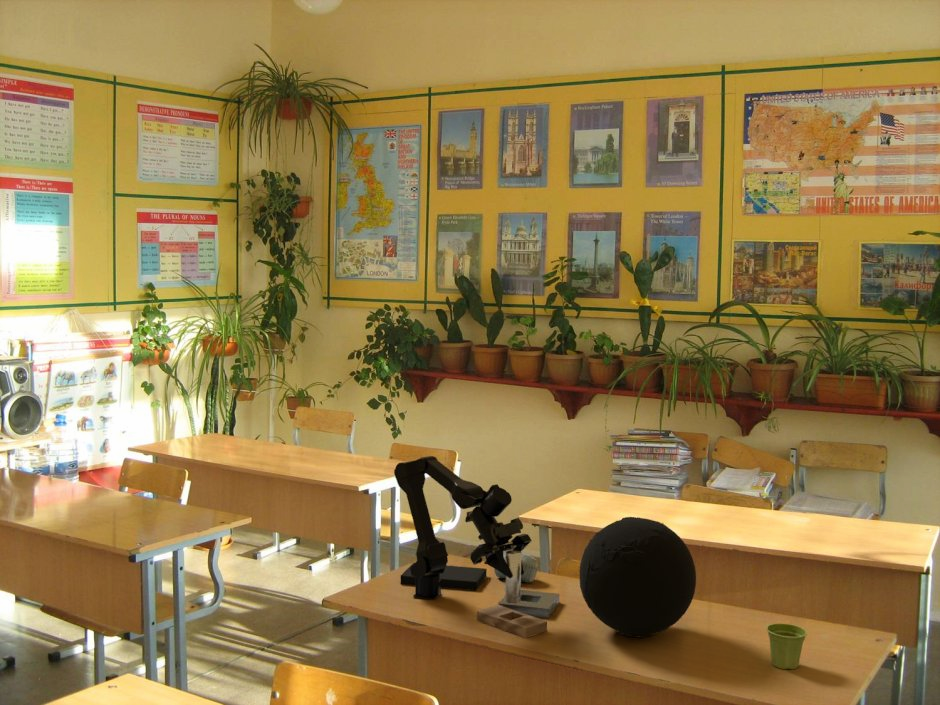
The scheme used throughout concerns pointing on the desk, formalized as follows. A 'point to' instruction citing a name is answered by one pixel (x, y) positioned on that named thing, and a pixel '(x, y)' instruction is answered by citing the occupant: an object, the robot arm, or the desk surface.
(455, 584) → the external hard drive
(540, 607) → the block
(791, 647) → the plant pot
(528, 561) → the spool
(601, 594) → the sphere
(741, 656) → the desk surface
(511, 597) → the steel axle
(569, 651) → the desk surface
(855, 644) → the desk surface
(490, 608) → the wooden block with hole
